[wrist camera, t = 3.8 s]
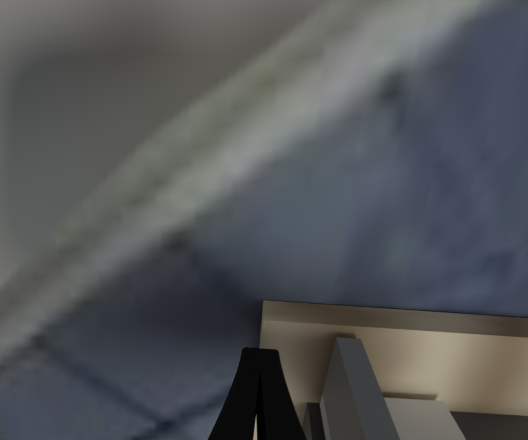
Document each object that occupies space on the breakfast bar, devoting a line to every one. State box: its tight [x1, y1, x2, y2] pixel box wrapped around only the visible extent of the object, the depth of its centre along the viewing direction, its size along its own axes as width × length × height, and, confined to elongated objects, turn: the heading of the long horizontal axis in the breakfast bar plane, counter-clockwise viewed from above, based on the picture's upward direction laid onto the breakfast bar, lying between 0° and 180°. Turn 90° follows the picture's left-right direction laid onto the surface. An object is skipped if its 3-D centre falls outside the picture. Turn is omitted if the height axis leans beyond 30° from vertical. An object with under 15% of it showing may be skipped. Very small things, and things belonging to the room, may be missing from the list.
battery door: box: [320, 337, 466, 440], centre depth 10 cm, size 6×4×4 cm
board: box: [253, 300, 528, 440], centre depth 14 cm, size 20×14×1 cm
